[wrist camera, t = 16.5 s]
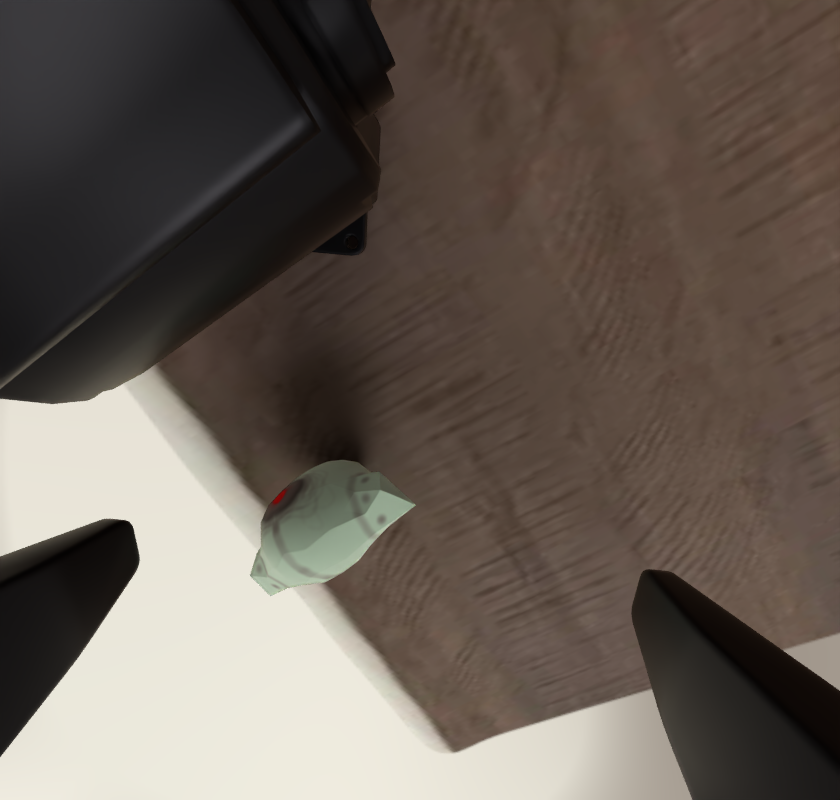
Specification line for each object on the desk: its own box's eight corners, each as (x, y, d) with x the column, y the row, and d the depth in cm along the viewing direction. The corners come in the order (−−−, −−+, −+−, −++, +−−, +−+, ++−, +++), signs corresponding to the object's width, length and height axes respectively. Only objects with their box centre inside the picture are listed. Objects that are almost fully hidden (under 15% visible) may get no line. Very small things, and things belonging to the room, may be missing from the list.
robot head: (314, 534, 22) (261, 650, 16) (261, 481, 21) (181, 582, 15) (432, 457, 20) (424, 555, 14) (378, 394, 19) (343, 468, 13)
